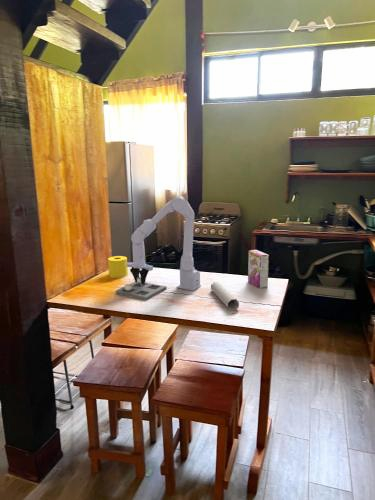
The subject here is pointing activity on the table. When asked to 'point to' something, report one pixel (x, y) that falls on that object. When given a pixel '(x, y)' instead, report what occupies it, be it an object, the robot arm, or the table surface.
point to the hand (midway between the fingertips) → (140, 282)
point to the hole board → (142, 291)
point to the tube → (225, 296)
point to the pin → (128, 288)
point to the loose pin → (139, 282)
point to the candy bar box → (258, 268)
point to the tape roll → (117, 266)
